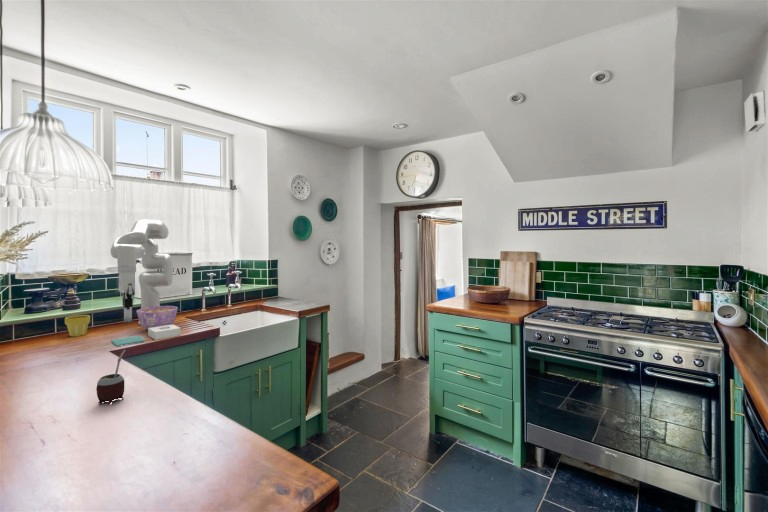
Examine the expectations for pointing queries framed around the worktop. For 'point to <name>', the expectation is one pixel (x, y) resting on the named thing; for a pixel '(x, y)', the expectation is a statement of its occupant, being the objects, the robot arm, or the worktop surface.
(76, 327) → the plant pot
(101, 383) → the mate gourd
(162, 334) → the eye block
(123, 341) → the mat
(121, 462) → the worktop surface
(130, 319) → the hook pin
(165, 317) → the bowl of food
